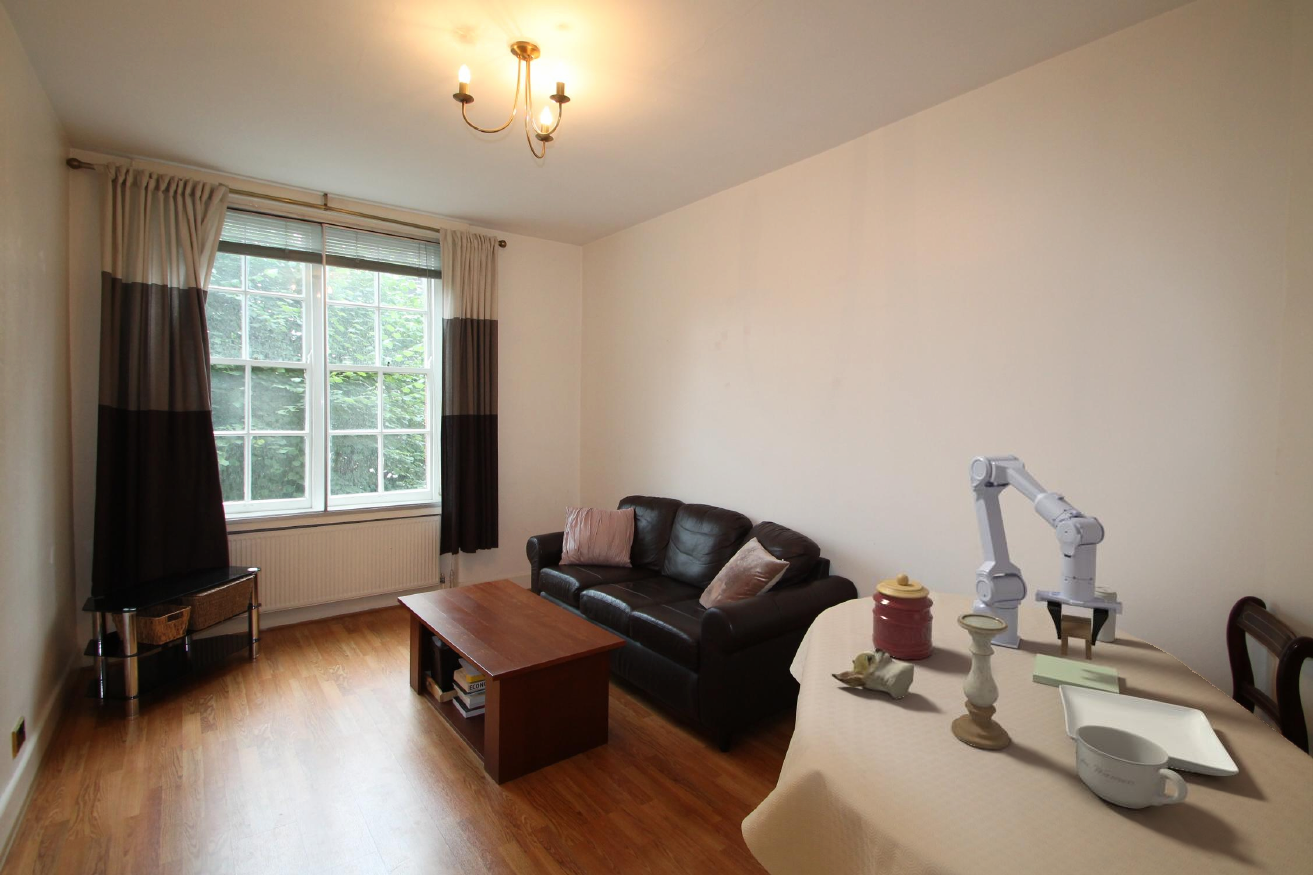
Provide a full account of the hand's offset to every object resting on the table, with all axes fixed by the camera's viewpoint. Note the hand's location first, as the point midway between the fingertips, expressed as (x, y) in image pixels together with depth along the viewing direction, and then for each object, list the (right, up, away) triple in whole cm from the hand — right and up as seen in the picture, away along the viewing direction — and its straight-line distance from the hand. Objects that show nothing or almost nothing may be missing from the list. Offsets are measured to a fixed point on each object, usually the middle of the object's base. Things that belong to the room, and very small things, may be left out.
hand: (1076, 641), depth 124 cm
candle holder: (-30, -10, -20) cm, 37 cm away
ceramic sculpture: (-42, -9, -2) cm, 43 cm away
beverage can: (+20, -7, +20) cm, 30 cm away
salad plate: (-4, -10, -21) cm, 24 cm away
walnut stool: (0, -3, 0) cm, 3 cm away
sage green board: (0, -8, +1) cm, 8 cm away
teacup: (-18, -11, -37) cm, 42 cm away
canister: (-29, -8, +16) cm, 34 cm away
